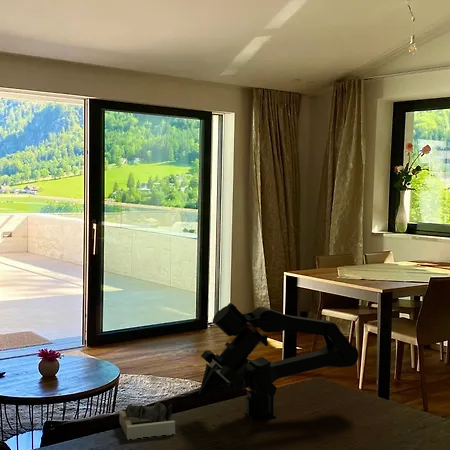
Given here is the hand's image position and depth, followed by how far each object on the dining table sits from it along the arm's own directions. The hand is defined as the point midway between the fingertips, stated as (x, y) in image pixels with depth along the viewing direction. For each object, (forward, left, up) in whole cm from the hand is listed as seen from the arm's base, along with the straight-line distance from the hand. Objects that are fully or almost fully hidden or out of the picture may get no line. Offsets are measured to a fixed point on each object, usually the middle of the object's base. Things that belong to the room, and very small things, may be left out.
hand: (200, 395), depth 166 cm
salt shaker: (+8, 0, -4) cm, 9 cm away
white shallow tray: (+14, 0, -7) cm, 15 cm away
